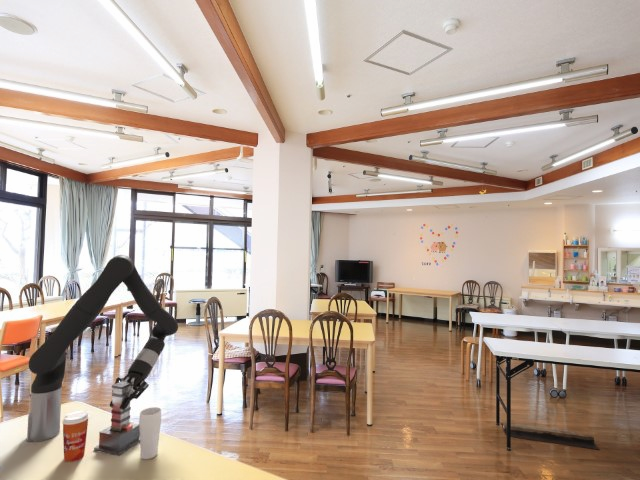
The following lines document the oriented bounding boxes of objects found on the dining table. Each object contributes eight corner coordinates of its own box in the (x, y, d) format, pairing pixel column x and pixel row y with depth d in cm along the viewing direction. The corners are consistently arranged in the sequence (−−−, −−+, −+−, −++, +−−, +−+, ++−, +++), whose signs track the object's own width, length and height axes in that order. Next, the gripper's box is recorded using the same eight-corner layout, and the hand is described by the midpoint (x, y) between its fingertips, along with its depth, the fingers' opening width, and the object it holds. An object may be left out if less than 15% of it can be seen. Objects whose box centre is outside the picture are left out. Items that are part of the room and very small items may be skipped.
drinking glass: (151, 462, 115) (152, 416, 116) (133, 460, 117) (135, 414, 117) (164, 451, 122) (165, 408, 122) (147, 449, 123) (148, 406, 124)
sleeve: (119, 456, 119) (119, 434, 119) (94, 450, 122) (94, 429, 122) (143, 439, 129) (144, 420, 129) (120, 434, 132) (120, 415, 132)
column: (120, 434, 123) (122, 387, 123) (109, 432, 124) (111, 385, 125) (130, 428, 127) (132, 382, 128) (120, 426, 128) (122, 381, 129)
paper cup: (57, 466, 112) (60, 422, 113) (62, 454, 119) (64, 412, 120) (86, 460, 116) (88, 417, 117) (89, 448, 123) (91, 408, 123)
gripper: (124, 356, 136) (94, 400, 124) (154, 360, 132) (126, 406, 120) (134, 366, 141) (107, 409, 128) (163, 370, 137) (138, 415, 124)
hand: (116, 407), depth 124 cm, fingers closed on column, 4 cm apart
